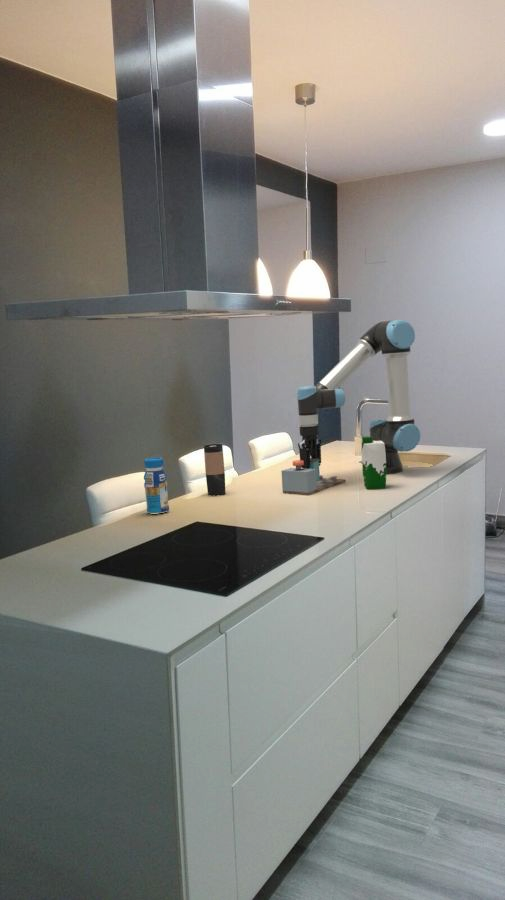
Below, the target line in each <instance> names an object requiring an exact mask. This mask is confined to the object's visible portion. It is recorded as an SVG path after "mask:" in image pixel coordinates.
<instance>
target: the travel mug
mask: <svg viewBox="0 0 505 900" xmlns="http://www.w3.org/2000/svg"><path fill="white" fill-rule="evenodd" d="M223 448H224V447H223V444H222V443H221V444H220V443H214V444H213V443H212V444H206V445H204V446H203V454H204V464H205V465H204V467H205V468H204V470H205V480H206V487H207V496H209V495H215V496H214V497H218V496H217V495H220V496H224V495H226V473H225V461H224V450H223Z"/></svg>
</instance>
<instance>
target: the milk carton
mask: <svg viewBox="0 0 505 900" xmlns="http://www.w3.org/2000/svg"><path fill="white" fill-rule="evenodd" d="M361 439H362V441H361V462H362V463H361V464H362V465H361V466H362V477H363V478H362V480H363V483H364V487H365V489H366V490H367V491H368V490H381V489H382V490H383V489H386V488H387V487H386V485H387V484H386V483H387V474H386V453H385V444H384V442H382V441H373V437H370V436H363V437H362V438H361Z"/></svg>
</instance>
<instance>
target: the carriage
mask: <svg viewBox="0 0 505 900" xmlns="http://www.w3.org/2000/svg"><path fill="white" fill-rule="evenodd" d="M319 461H320V460H319V458H311V457H310V468H311V469H316V476H317V482H318V481H320V475H321V474H320V466H319ZM302 469H304V468H302Z"/></svg>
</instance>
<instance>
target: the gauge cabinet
mask: <svg viewBox="0 0 505 900" xmlns="http://www.w3.org/2000/svg"><path fill="white" fill-rule="evenodd" d="M281 487H282V492H283V491H294V492H306V493H308V492H311V491H314V490H317V476H316V469H303V468H302V467H301V471H296V467H289V468H286V469H282V470H281Z"/></svg>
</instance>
